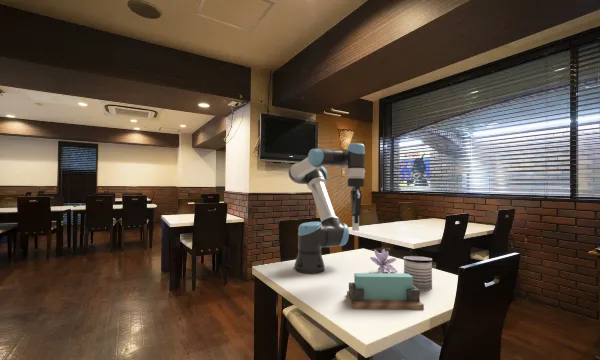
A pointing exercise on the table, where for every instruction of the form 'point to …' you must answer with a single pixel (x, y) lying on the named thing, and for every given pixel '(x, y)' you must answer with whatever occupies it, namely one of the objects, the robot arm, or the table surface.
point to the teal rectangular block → (383, 285)
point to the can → (419, 271)
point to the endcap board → (359, 303)
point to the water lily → (384, 261)
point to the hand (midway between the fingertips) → (355, 230)
